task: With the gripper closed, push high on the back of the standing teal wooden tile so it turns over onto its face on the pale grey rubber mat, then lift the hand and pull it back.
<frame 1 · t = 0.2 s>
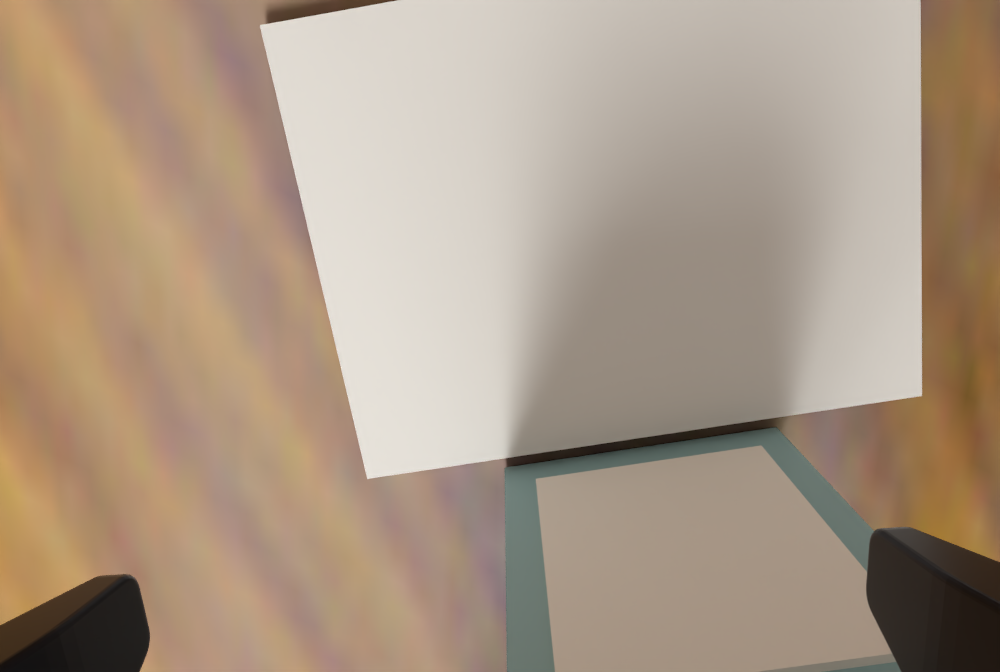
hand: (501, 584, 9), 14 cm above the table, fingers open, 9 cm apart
tile: (641, 468, 24), on the table
mat: (612, 222, 22), on the table
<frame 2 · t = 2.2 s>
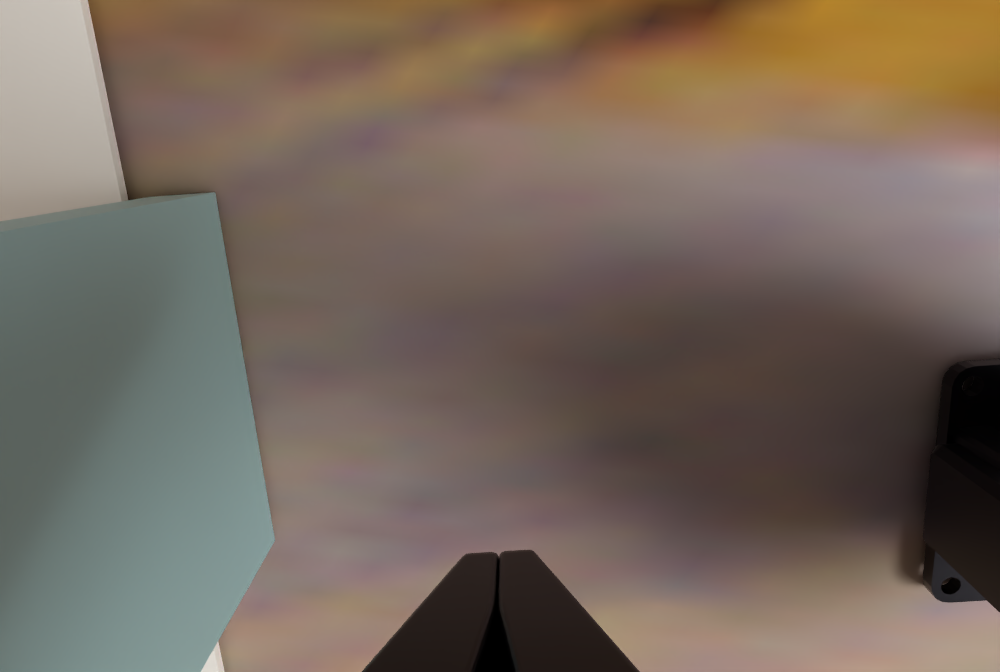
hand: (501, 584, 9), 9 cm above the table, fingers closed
tile: (216, 380, 18), on the table
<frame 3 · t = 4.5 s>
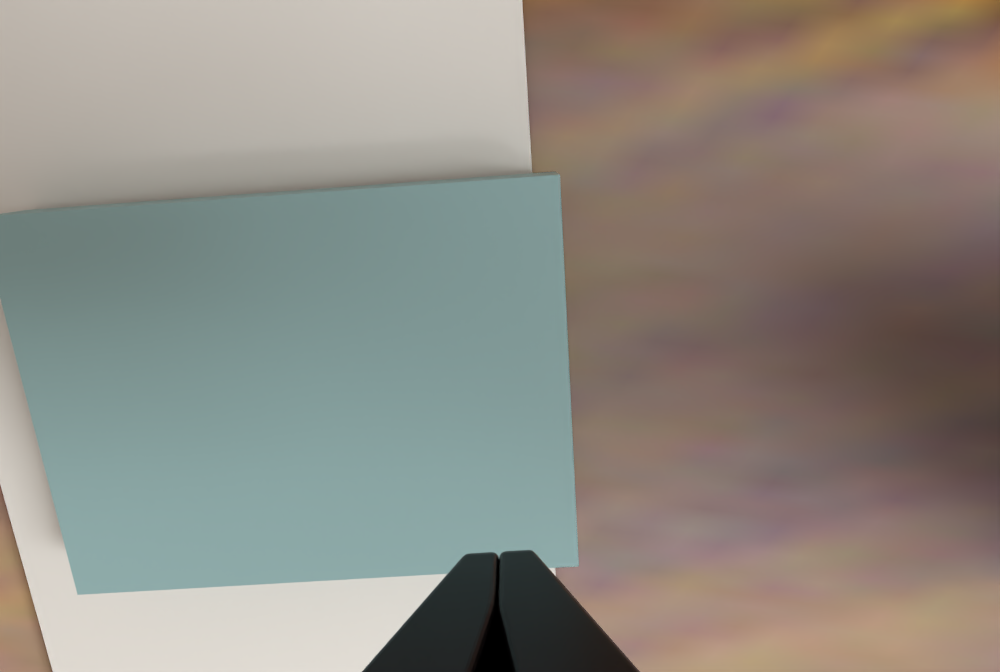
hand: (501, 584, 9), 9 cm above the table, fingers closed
tile: (567, 374, 16), point 1 cm above the table, tilted 90°, touching mat
mat: (260, 378, 18), on the table
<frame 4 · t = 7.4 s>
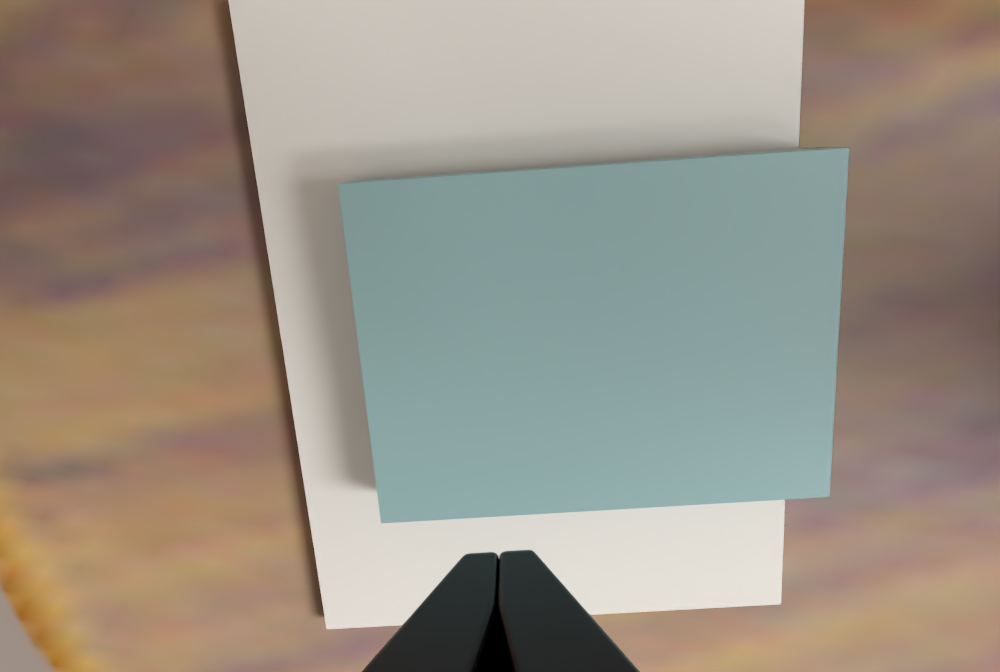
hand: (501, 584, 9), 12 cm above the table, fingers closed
tile: (825, 326, 19), point 1 cm above the table, tilted 90°, touching mat
mat: (534, 332, 20), on the table
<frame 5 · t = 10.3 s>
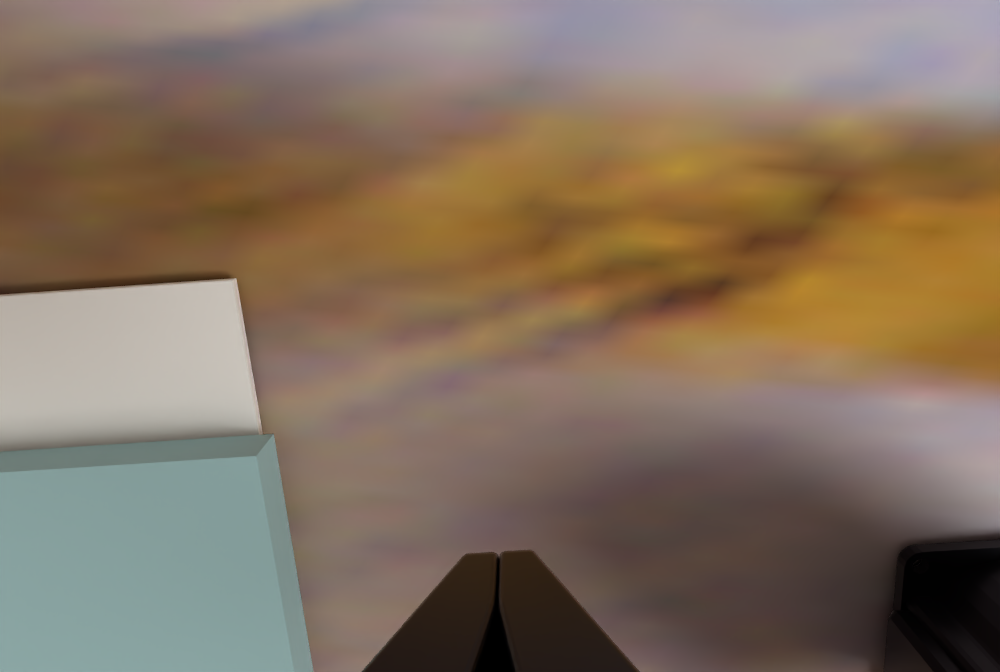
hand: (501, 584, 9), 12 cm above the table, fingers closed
tile: (289, 585, 21), point 1 cm above the table, tilted 90°, touching mat
mat: (63, 575, 22), on the table
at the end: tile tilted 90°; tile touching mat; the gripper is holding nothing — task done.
